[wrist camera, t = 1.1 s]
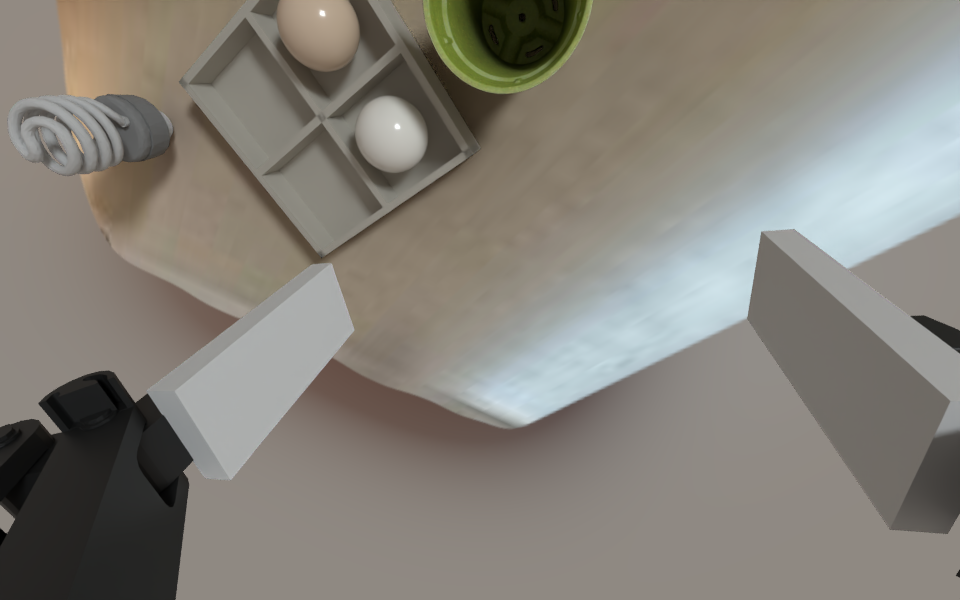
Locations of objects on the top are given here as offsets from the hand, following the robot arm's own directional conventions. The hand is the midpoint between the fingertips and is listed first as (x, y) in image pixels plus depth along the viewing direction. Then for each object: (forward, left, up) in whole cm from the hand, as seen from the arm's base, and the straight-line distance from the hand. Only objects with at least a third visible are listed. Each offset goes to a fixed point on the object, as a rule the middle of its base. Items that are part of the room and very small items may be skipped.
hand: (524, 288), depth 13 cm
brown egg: (-17, -10, -24) cm, 31 cm away
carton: (-13, -14, -24) cm, 31 cm away
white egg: (-8, -10, -24) cm, 27 cm away
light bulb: (-22, -29, -25) cm, 44 cm away
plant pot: (-10, +3, -25) cm, 27 cm away
